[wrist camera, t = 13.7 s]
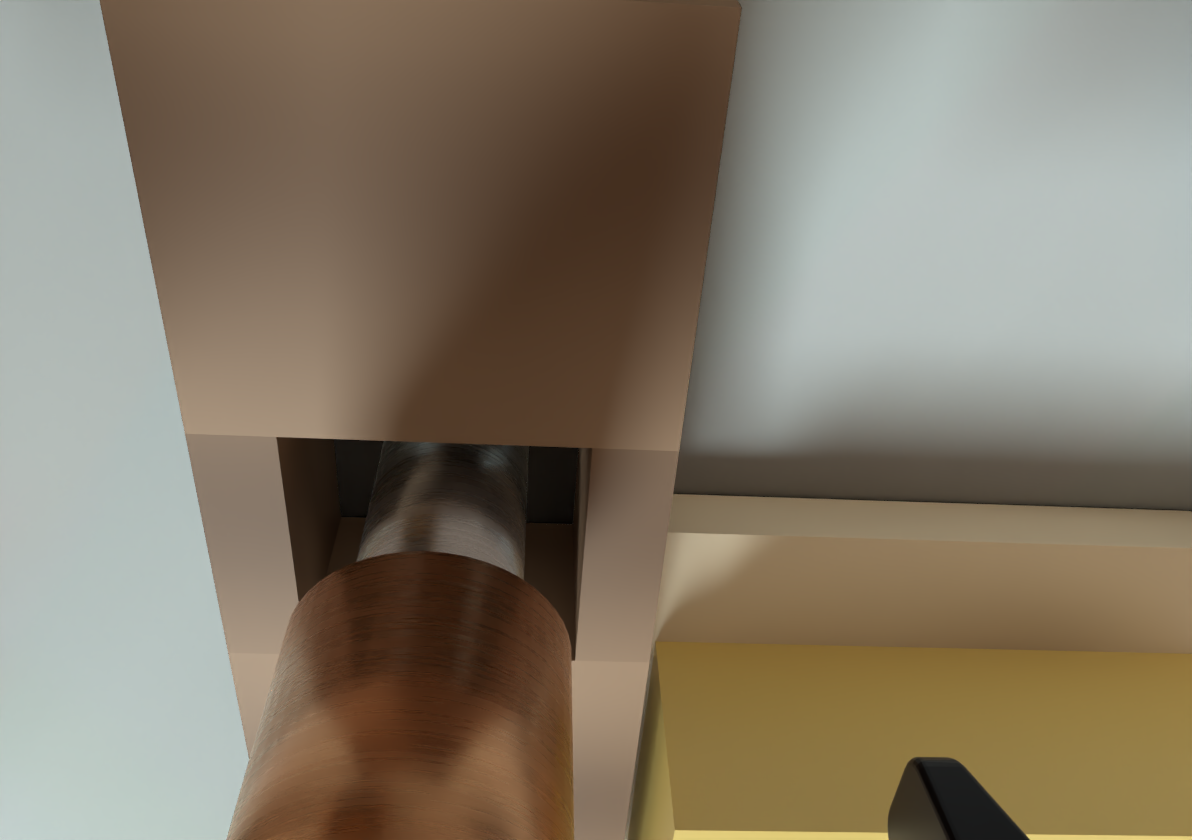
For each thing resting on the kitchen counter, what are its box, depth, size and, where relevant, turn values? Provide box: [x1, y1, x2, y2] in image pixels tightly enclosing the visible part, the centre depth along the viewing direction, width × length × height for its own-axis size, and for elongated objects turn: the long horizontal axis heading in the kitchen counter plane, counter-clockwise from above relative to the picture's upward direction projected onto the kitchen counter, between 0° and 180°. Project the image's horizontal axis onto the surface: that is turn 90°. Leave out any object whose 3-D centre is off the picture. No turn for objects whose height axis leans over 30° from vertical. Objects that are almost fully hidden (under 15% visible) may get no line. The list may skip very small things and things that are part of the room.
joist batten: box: [100, 0, 742, 840], centre depth 13 cm, size 15×5×2 cm, turn 176°
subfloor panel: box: [625, 494, 1192, 840], centre depth 17 cm, size 10×15×1 cm, turn 86°
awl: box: [226, 441, 574, 840], centre depth 10 cm, size 3×3×9 cm
